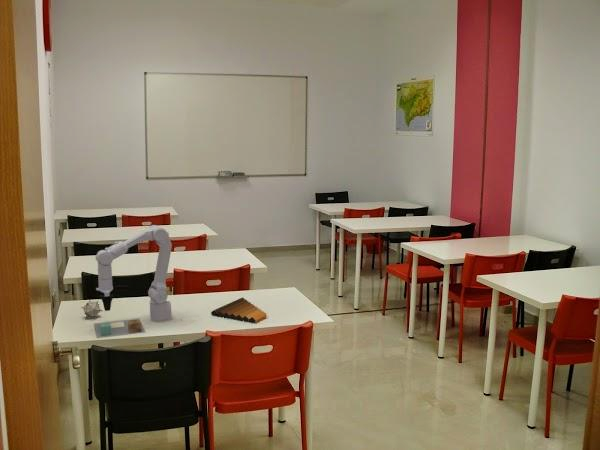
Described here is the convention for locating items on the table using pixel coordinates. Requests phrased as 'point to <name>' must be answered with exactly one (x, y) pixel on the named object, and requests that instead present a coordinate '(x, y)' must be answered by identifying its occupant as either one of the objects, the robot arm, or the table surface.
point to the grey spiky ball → (91, 309)
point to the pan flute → (240, 311)
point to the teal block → (105, 329)
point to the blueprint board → (116, 328)
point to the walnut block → (134, 326)
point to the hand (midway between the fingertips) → (106, 308)
